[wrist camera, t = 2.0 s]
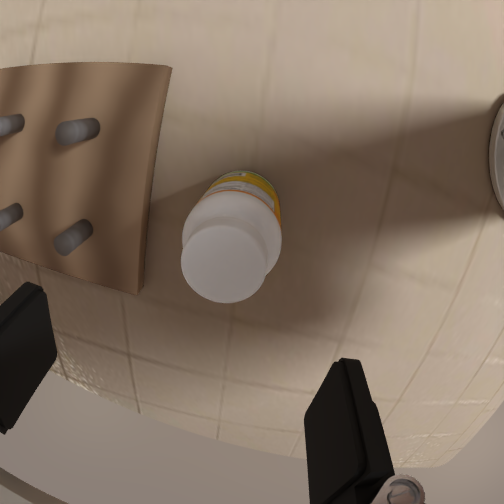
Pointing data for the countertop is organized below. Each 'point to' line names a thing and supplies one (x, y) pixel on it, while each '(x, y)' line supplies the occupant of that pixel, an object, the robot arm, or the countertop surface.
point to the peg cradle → (80, 166)
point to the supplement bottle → (232, 237)
